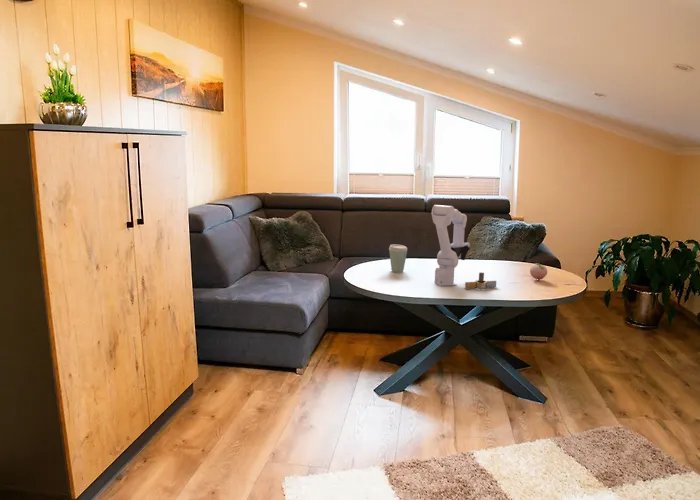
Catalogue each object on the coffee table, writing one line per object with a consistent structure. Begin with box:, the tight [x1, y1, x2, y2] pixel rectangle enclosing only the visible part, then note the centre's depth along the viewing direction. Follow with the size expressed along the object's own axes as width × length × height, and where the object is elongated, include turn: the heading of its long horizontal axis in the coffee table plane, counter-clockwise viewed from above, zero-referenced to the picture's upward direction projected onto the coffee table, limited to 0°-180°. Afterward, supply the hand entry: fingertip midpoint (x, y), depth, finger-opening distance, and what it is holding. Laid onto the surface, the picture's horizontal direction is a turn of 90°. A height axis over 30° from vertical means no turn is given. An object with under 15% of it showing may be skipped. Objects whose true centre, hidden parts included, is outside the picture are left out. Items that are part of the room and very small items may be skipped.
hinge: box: [464, 279, 497, 291], centre depth 283 cm, size 17×6×4 cm, turn 104°
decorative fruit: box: [529, 262, 548, 281], centre depth 299 cm, size 9×8×10 cm
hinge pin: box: [478, 272, 485, 283], centre depth 282 cm, size 2×2×8 cm
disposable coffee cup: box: [388, 243, 408, 274], centre depth 313 cm, size 11×11×15 cm
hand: (457, 260), depth 300 cm, fingers open, 7 cm apart
